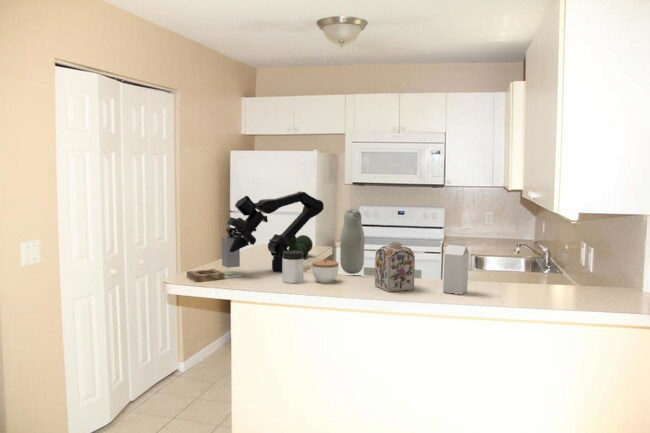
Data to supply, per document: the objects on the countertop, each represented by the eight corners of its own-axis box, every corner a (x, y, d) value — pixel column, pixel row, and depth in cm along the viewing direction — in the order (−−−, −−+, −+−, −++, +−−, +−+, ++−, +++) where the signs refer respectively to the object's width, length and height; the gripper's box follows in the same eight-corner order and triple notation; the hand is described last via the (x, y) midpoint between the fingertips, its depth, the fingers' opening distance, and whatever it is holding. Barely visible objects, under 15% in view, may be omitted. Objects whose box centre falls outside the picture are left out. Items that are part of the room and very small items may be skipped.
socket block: (214, 274, 247) (214, 268, 246) (224, 279, 237) (224, 273, 237) (186, 277, 240) (186, 271, 240) (196, 282, 231) (196, 276, 231)
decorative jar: (400, 284, 234) (401, 239, 232) (414, 290, 223) (416, 243, 221) (373, 286, 229) (374, 240, 228) (387, 292, 218) (388, 245, 217)
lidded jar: (307, 282, 234) (307, 259, 233) (318, 277, 244) (319, 255, 243) (331, 285, 230) (331, 261, 229) (342, 280, 239) (342, 257, 238)
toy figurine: (300, 266, 278) (317, 254, 302) (299, 227, 275) (316, 218, 298) (282, 265, 281) (299, 252, 304) (281, 226, 278) (299, 217, 301)
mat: (235, 273, 250) (235, 272, 250) (243, 276, 244) (243, 275, 244) (217, 274, 246) (217, 274, 246) (225, 278, 239) (225, 277, 239)
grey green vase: (367, 273, 255) (369, 209, 252) (352, 276, 247) (354, 210, 245) (350, 270, 261) (352, 208, 259) (335, 273, 254) (336, 209, 251)
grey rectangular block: (234, 264, 248) (233, 236, 247) (239, 266, 244) (239, 238, 242) (222, 265, 245) (221, 237, 244) (227, 267, 241) (227, 239, 239)
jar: (290, 284, 230) (291, 254, 229) (277, 280, 236) (278, 251, 235) (307, 281, 236) (308, 252, 235) (294, 278, 242) (294, 249, 241)
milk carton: (461, 295, 216) (463, 244, 214) (442, 292, 219) (444, 242, 218) (467, 291, 222) (469, 242, 220) (449, 289, 225) (451, 240, 224)
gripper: (229, 208, 252) (206, 235, 247) (249, 212, 237) (224, 241, 232) (246, 225, 257) (223, 252, 252) (266, 230, 242) (242, 258, 237)
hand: (227, 250), depth 243 cm, fingers closed on grey rectangular block, 5 cm apart
